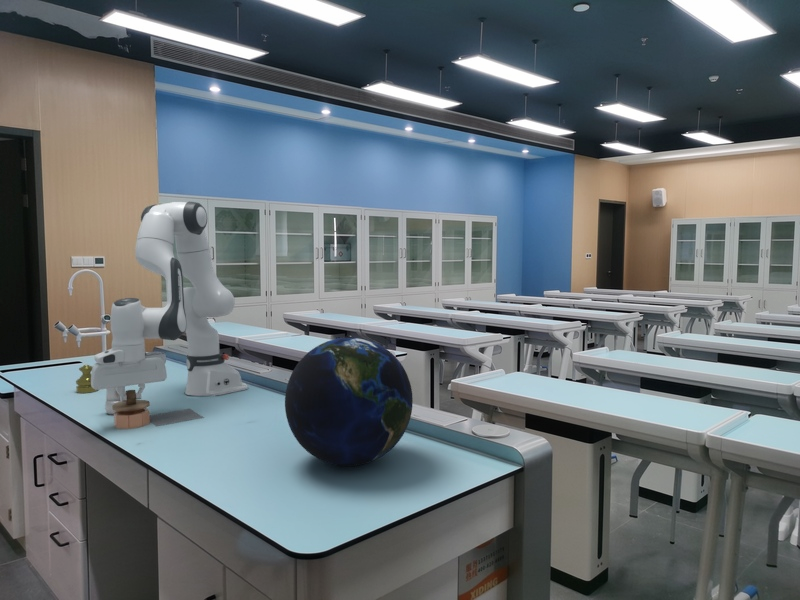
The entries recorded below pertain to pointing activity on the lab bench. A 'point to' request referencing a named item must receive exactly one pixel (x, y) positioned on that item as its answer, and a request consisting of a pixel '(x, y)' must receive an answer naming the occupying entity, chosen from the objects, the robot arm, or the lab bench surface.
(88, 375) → the gold chess piece
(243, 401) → the lab bench surface
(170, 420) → the mat
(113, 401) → the plastic bottle
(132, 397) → the lid
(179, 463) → the lab bench surface
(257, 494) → the lab bench surface
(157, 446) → the lab bench surface
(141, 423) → the bowl
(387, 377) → the globe
